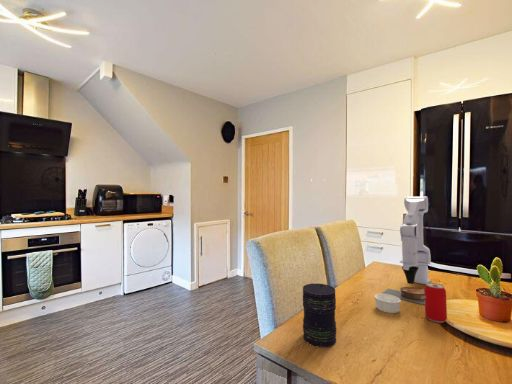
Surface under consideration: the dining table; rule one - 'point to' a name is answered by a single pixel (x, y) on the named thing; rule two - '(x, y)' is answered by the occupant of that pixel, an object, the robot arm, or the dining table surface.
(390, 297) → the ramekin
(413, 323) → the dining table surface
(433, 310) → the beverage can
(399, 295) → the mat
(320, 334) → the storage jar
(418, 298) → the tin
